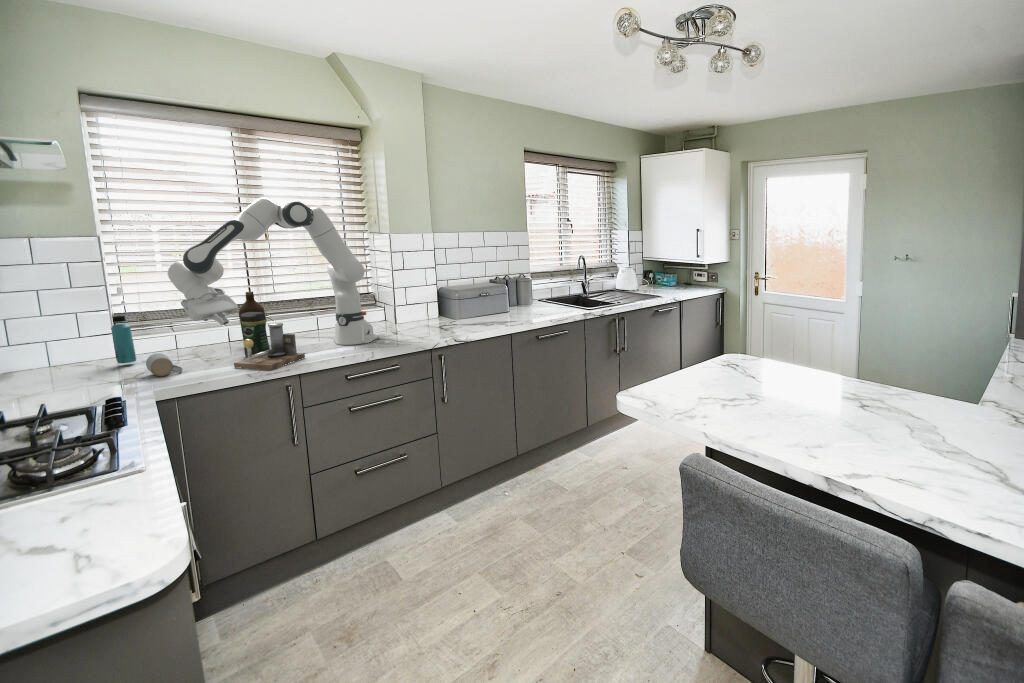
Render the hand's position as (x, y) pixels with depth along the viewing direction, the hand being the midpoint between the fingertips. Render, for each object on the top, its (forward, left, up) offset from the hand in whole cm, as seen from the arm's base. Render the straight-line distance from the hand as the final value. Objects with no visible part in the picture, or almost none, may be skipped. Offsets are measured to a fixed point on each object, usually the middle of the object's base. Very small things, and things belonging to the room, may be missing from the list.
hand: (225, 323), depth 203 cm
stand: (-9, +11, -17) cm, 22 cm away
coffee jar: (-19, -4, -17) cm, 26 cm away
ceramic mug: (+14, -17, -18) cm, 28 cm away
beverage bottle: (+7, -44, -17) cm, 48 cm away
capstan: (-7, +11, -15) cm, 20 cm away
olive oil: (-34, -18, -17) cm, 42 cm away
